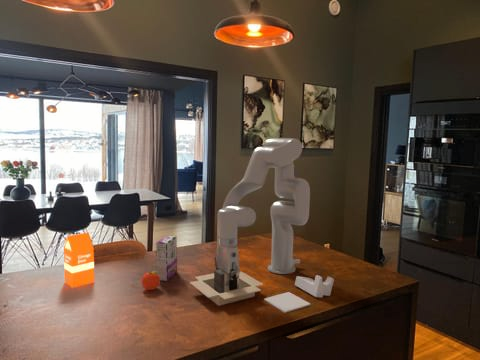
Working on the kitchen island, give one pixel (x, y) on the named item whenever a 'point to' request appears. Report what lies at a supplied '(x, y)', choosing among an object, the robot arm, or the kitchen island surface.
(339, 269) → the kitchen island surface
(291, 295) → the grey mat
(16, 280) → the kitchen island surface
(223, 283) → the birch box
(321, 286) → the bracket
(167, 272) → the candy bar box
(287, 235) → the robot arm
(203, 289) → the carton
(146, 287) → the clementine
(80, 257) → the orange juice
